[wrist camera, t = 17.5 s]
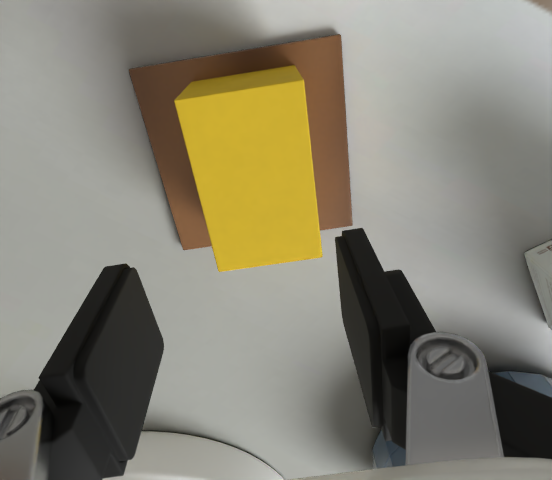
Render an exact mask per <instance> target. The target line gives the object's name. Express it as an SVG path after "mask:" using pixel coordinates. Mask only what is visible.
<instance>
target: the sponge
mask: <svg viewBox="0 0 552 480" xmlns="http://www.w3.org/2000/svg"><path fill="white" fill-rule="evenodd" d="M174 102H175V106H176V110H177V114H178V118H179V122H180V125H181V129H182V133H183V137H184V141H185V145H186V148H187V152H188V156H189V160H190V164H191V168H192V171H193V175H194V179H195V183H196V187H197V191H198V195H199V198H200V202H201V206H202V210H203V214H204V218H205V221H206V225H207V229H208V233H209V237H210V241H211V244H212V248H213V252H214V256H215V260H216V264H217V268H218V271H219V272H222V271H229V270H236V269H243V268H250V267H257V266H264V265H271V264H278V263H285V262H292V261H299V260H306V259H313V258H320V257H322V247H321V237H320V228H319V218H318V209H317V199H316V190H315V180H314V171H313V161H312V152H311V142H310V133H309V123H308V114H307V104H306V95H305V85H304V80H303V78H302V76H301V75H300V73H299V72H298V70H297V68H296V67H295V65H292V66H286V67H280V68H273V69H267V70H261V71H255V72H249V73H242V74H236V75H230V76H224V77H218V78H212V79H205V80H199V81H193V82H191V83H190V84H189V85H188V86H187V87H186V88H185V89H184V90H183V91H182V93H181V94H180V95H179V96H178V97H177V98H176V99H175V100H174Z"/></svg>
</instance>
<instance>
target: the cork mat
mask: <svg viewBox="0 0 552 480" xmlns="http://www.w3.org/2000/svg"><path fill="white" fill-rule="evenodd" d="M292 65H295V67H296V68H297V70H298V72H299V73H300V75H301V76H302V78H303V80H304V85H305V95H306V104H307V114H308V123H309V133H310V142H311V152H312V161H313V171H314V180H315V190H316V199H317V209H318V218H319V228H320V230H325V229H332V228H339V227H346V226H352V208H351V192H350V176H349V159H348V143H347V126H346V110H345V94H344V77H343V61H342V44H341V35H340V34H337V35H331V36H325V37H319V38H313V39H307V40H301V41H294V42H288V43H282V44H276V45H270V46H264V47H258V48H252V49H246V50H240V51H234V52H228V53H222V54H216V55H210V56H204V57H198V58H192V59H186V60H180V61H174V62H168V63H162V64H156V65H150V66H144V67H138V68H132V69H129V73H130V76H131V80H132V83H133V86H134V90H135V93H136V96H137V99H138V103H139V106H140V109H141V113H142V116H143V119H144V122H145V126H146V129H147V132H148V136H149V139H150V142H151V145H152V149H153V152H154V155H155V159H156V162H157V165H158V168H159V172H160V175H161V178H162V182H163V185H164V188H165V191H166V195H167V198H168V201H169V205H170V208H171V211H172V214H173V218H174V221H175V224H176V228H177V231H178V234H179V237H180V241H181V244H182V247H183V250H188V249H195V248H202V247H209V246H212V244H211V241H210V237H209V233H208V229H207V225H206V221H205V218H204V214H203V210H202V206H201V202H200V198H199V195H198V191H197V187H196V183H195V179H194V175H193V171H192V168H191V164H190V160H189V156H188V152H187V148H186V145H185V141H184V137H183V133H182V129H181V125H180V122H179V118H178V114H177V110H176V106H175V102H174V100H175V99H176V98H177V97H178V96H179V95H180V94H181V93H182V91H183V90H184V89H185V88H186V87H187V86H188V85H189V84H190V83H191V82H193V81H199V80H205V79H212V78H218V77H224V76H230V75H236V74H242V73H249V72H255V71H261V70H267V69H273V68H280V67H286V66H292Z"/></svg>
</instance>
